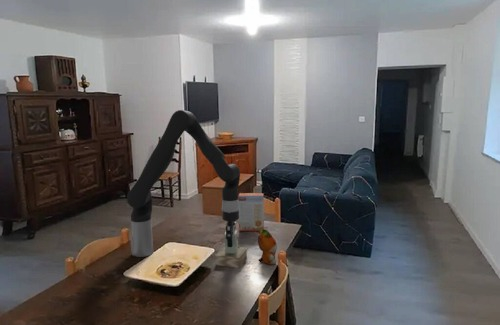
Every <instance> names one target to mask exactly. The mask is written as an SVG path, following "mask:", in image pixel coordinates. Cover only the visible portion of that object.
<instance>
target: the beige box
mask: <svg viewBox="0 0 500 325" xmlns="http://www.w3.org/2000/svg"><path fill="white" fill-rule="evenodd" d="M247 251H248V248H247V247H241V246H240V247H239V246H237V252H236V253H225V244H224V245H223V246H222V248H221V249H219V251H217V252H216V254H214V257H215V265H216V266H222V267H228V268H229V267H230V268H237V269H239V268H240V267H241V266H242V265H243V264H244V262H245V261H246V259H247V257H248V256H247V254H248V252H247Z"/></svg>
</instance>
